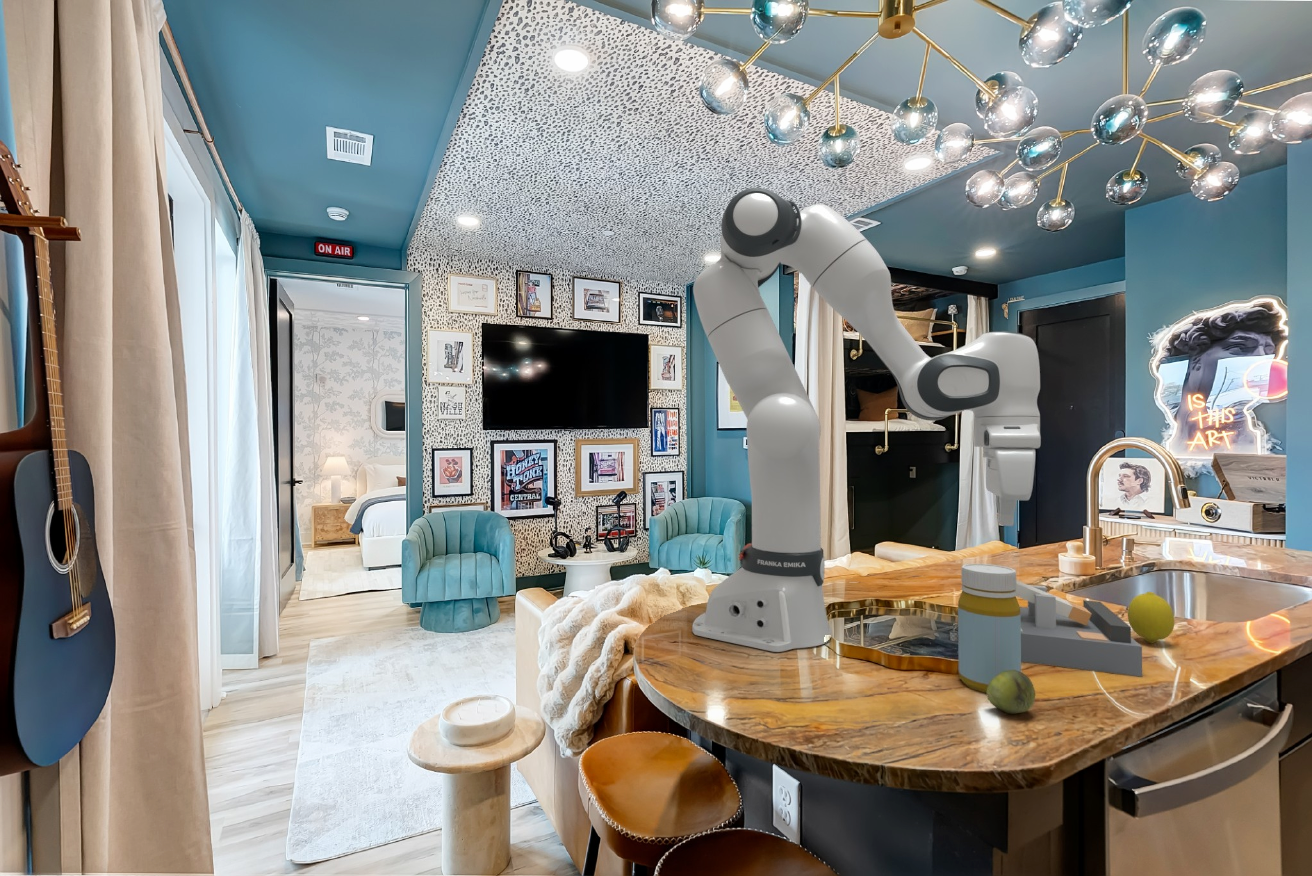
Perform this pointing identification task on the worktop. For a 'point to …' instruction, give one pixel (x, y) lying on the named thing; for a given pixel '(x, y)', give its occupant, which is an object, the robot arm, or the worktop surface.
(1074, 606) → the lever
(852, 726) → the worktop surface
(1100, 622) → the low grey base tray
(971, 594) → the bottle
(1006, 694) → the lime
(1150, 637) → the lemon
